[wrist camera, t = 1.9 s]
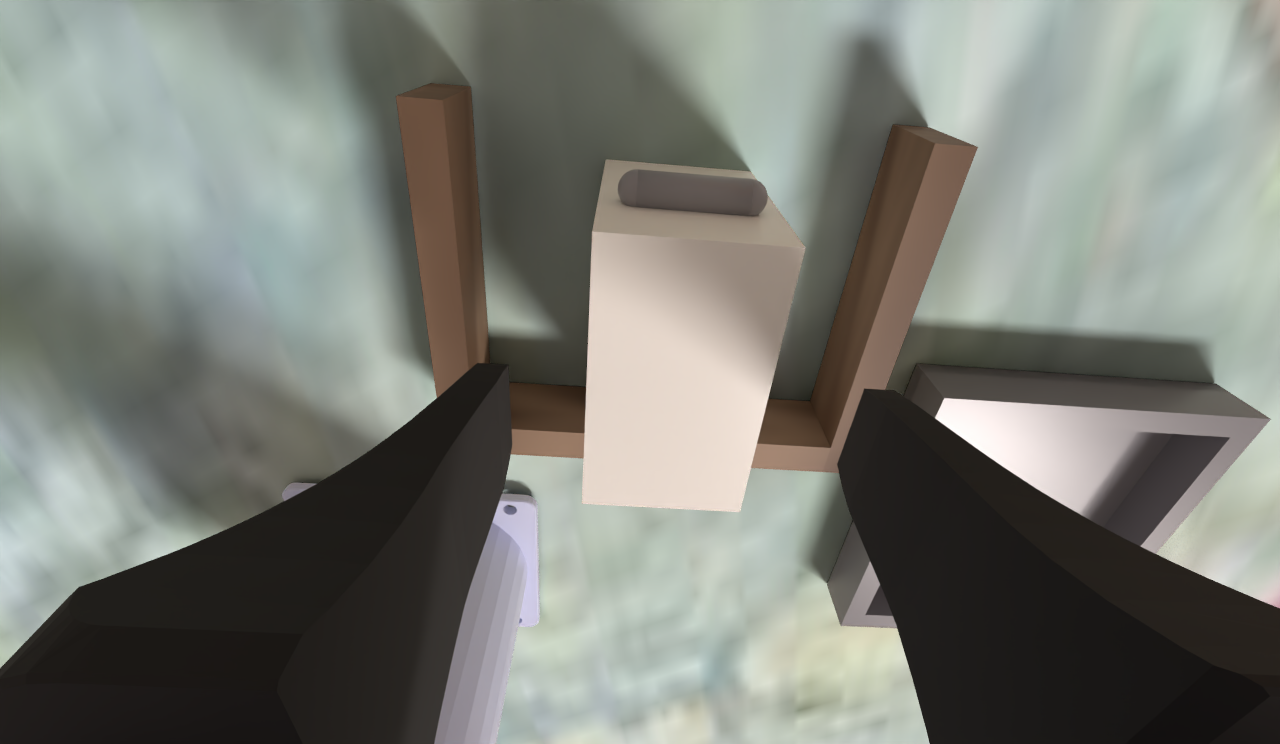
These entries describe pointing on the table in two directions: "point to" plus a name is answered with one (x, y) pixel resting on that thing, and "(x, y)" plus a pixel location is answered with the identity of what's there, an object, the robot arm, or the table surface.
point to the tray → (1074, 453)
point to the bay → (555, 415)
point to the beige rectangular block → (682, 333)
